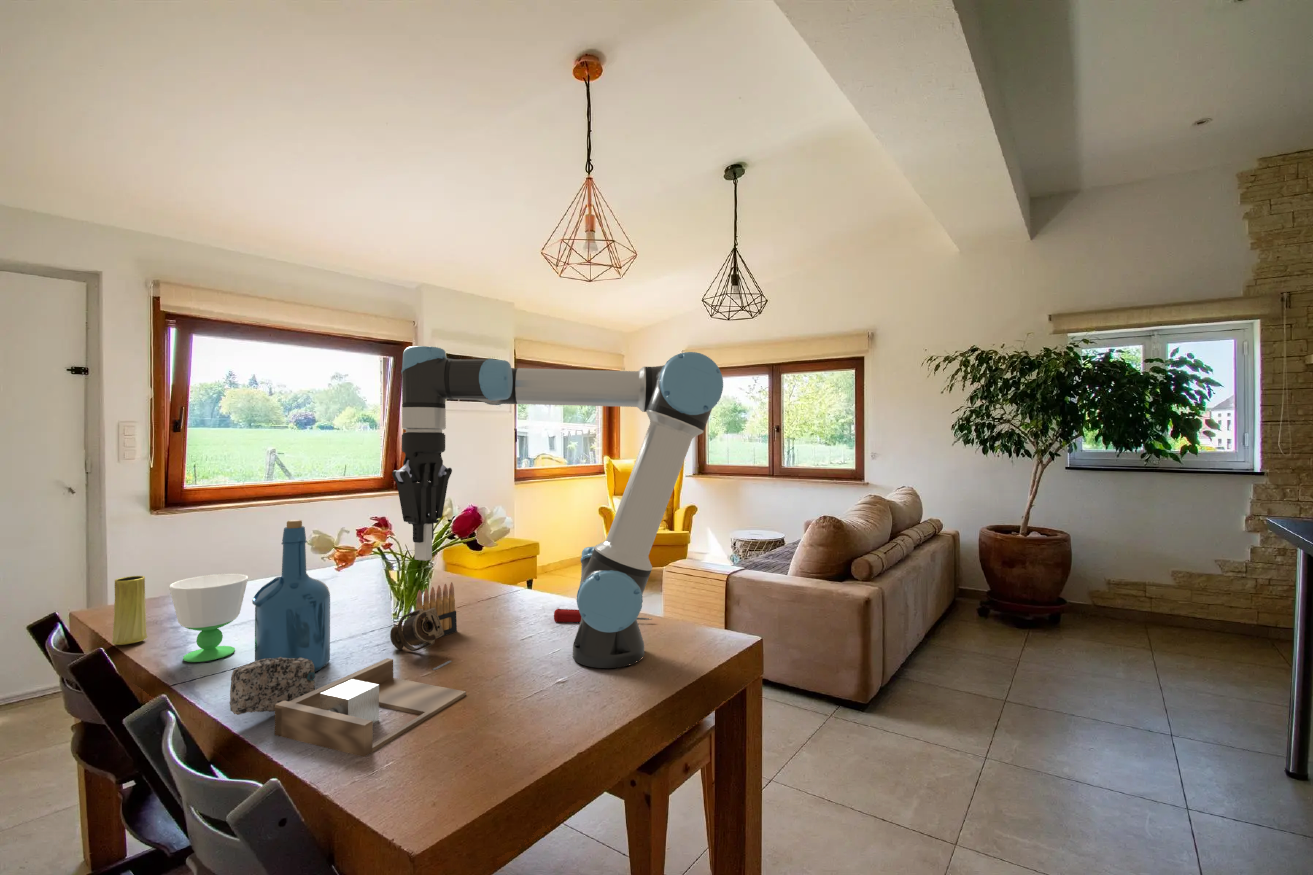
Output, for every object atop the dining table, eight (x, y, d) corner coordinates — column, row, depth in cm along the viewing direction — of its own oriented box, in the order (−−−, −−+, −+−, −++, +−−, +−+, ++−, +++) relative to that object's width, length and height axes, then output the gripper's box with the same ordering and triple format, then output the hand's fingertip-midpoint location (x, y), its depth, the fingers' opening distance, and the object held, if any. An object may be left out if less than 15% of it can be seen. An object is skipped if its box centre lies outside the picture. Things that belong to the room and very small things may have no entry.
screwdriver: (651, 628, 147) (651, 614, 147) (553, 624, 150) (553, 610, 150) (653, 623, 151) (653, 609, 151) (556, 620, 153) (556, 606, 153)
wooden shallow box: (466, 697, 107) (466, 669, 107) (364, 759, 86) (364, 725, 86) (387, 681, 114) (387, 655, 114) (274, 736, 93) (274, 704, 93)
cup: (255, 653, 128) (256, 580, 128) (174, 672, 118) (175, 592, 118) (239, 639, 138) (240, 570, 138) (163, 654, 128) (163, 580, 128)
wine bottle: (320, 651, 130) (321, 514, 130) (339, 669, 120) (340, 520, 120) (245, 668, 120) (245, 520, 120) (259, 688, 110) (260, 527, 111)
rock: (303, 653, 107) (319, 651, 105) (302, 705, 105) (318, 704, 103) (228, 663, 96) (244, 660, 94) (224, 721, 94) (241, 720, 92)
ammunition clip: (418, 644, 135) (418, 591, 135) (413, 642, 136) (413, 590, 136) (457, 631, 144) (457, 581, 144) (452, 630, 145) (452, 580, 145)
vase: (105, 642, 135) (105, 579, 135) (137, 634, 140) (137, 574, 140) (121, 646, 132) (121, 582, 132) (153, 638, 138) (153, 576, 138)
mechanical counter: (428, 662, 124) (428, 614, 124) (373, 657, 126) (373, 610, 126) (446, 650, 131) (447, 605, 131) (395, 646, 133) (395, 601, 133)
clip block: (379, 684, 98) (339, 703, 91) (378, 721, 98) (339, 742, 91) (351, 678, 100) (311, 696, 93) (351, 714, 100) (311, 735, 93)
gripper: (432, 431, 117) (432, 551, 117) (380, 430, 105) (379, 564, 105) (463, 431, 114) (463, 554, 114) (413, 430, 102) (413, 568, 102)
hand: (423, 559), depth 110 cm, fingers closed
